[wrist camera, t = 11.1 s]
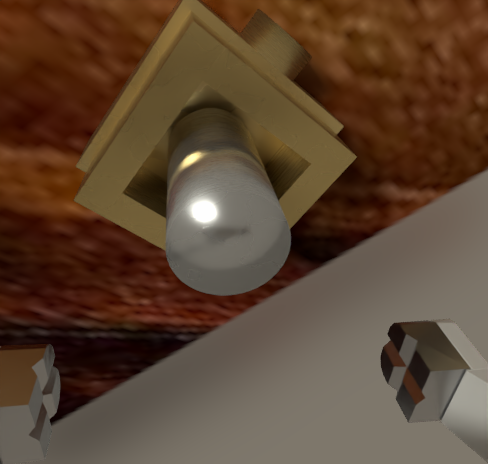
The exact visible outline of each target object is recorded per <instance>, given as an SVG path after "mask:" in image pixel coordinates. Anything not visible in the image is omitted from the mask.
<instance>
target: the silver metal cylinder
mask: <svg viewBox="0 0 488 464" xmlns="http://www.w3.org/2000/svg"><path fill="white" fill-rule="evenodd" d="M290 245H291V233H290V228H289V225H288V222H287V220H286V218H285V215H284V213H283V211H282V208H281V206H280V203H279V201H278V199H277V196H276V194H275V192H274V189H273V187H272V185H271V182H270V180H269V178H268V175H267V173H266V170H265V168H264V166H263V163H262V161H261V159H260V156H259V154H258V152H257V149H256V147H255V145H254V142H253V140H252V137H251V135H250V133H249V131H248V129H247V127H246V126H245V124H244V123H243V122H242V121H241V120H240V119H239V118H238V117H237V116H235V115H234V114H232V113H230V112H228V111H225V110H222V109H217V108H205V109H200V110H197V111H194V112H192V113H190V114H188V115H186V116H185V117H184V118H182V119H181V120H180V121H179V122H178V123H177V125H176V126H175V128H174V129H173V131H172V133H171V136H170V139H169V145H168V175H167V211H166V255H167V260H168V262H169V265H170V267H171V269H172V270H173V272H174V273H175V274H176V276H177V277H178V278H179V279H180V280H181V281H182V282H184V283H185V284H186V285H188V286H190V287H191V288H193V289H195V290H198V291H200V292H204V293H207V294H213V295H235V294H240V293H244V292H247V291H250V290H253V289H255V288H257V287H259V286H261V285H263V284H264V283H266V282H267V281H269V280H270V279H271V278H272V277H273V276H274V275H275V274H277V272H278V271H279V270H280V269H281V267H282V266H283V264H284V263H285V261H286V259H287V257H288V254H289V251H290Z"/></svg>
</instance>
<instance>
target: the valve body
mask: <svg viewBox="0 0 488 464" xmlns="http://www.w3.org/2000/svg"><path fill="white" fill-rule="evenodd" d="M311 58H312V56H311V55H310V54H309V53H308V52H307V51H306V50H305V49H304V48H303V47H302V46H301V45H300V44H298V43H297V42H296V41H295V40H294V39H293V38H292V37H291V36H290V35H289V34H288V33H286V32H285V31H284V30H283V29H282V28H281V27H280V26H279V25H277V24H276V23H275V22H274V21H273V20H272V19H271V18H269V17H268V16H267V15H266V14H265V13H263V12H262V11H261V10H259V9H258V10H257V11H256V13H255V14H254V15H253V17H252V18H251V20H250V21H249V22H248V24H247V25H246V26H245V28H244V29H243V31H242V32H241V33H240V34H239V33H238V32H237V31H236V30H235V29H234V28H232V27H231V26H230V25H229V24H228V23H227V22H226V21H224V20H223V19H222V18H221V17H220V16H219V15H217V14H216V13H215V12H214V11H213V10H212V9H210V8H209V7H208V6H207V5H206V4H205V3H203V2H202V1H201V0H179V1H178V2H177V4H176V5H175V7H174V8H173V10H172V12H171V13H170V15H169V16H168V18H167V19H166V21H165V22H164V24H163V26H162V27H161V29H160V30H159V32H158V33H157V35H156V36H155V38H154V40H153V41H152V43H151V44H150V46H149V47H148V49H147V51H146V52H145V54H144V55H143V57H142V58H141V60H140V61H139V63H138V65H137V66H136V68H135V69H134V71H133V72H132V74H131V75H130V77H129V79H128V80H127V82H126V83H125V85H124V86H123V88H122V90H121V91H120V93H119V94H118V96H117V97H116V99H115V100H114V102H113V104H112V105H111V107H110V108H109V110H108V111H107V113H106V114H105V116H104V118H103V119H102V121H101V122H100V124H99V125H98V127H97V129H96V130H95V132H94V133H93V135H92V136H91V138H90V139H89V141H88V143H87V145H86V147H85V149H84V151H83V153H82V155H81V157H80V159H79V161H78V163H77V165H76V167H77V168H79V169H81V170H83V171H84V172H86V174H85V176H84V178H83V180H82V183H81V185H80V187H79V189H78V192H77V194H76V196H75V198H74V201H75V202H77V203H79V204H81V205H83V206H85V207H86V208H88V209H90V210H92V211H94V212H96V213H97V214H99V215H101V216H103V217H105V218H107V219H109V220H110V221H112V222H114V223H116V224H118V225H120V226H121V227H123V228H125V229H127V230H129V231H131V232H132V233H134V234H136V235H138V236H140V237H142V238H143V239H145V240H147V241H149V242H151V243H153V244H154V245H156V246H158V247H160V248H162V249H164V250H165V251H166V211H167V175H168V145H169V139H170V136H171V133H172V131H173V129H174V128H175V126H176V125H177V123H178V122H179V121H180V120H181V119H182V118H184V117H185V116H186V115H188V114H190V113H192V112H194V111H197V110H200V109H205V108H217V109H222V110H225V111H228V112H230V113H232V114H234V115H235V116H237V117H238V118H239V119H240V120H241V121H242V122H243V123H244V124H245V126H246V127H247V129H248V131H249V133H250V135H251V137H252V140H253V142H254V145H255V147H256V149H257V152H258V154H259V156H260V159H261V161H262V163H263V166H264V168H265V170H266V173H267V175H268V178H269V180H270V182H271V185H272V187H273V189H274V192H275V194H276V196H277V199H278V201H279V203H280V206H281V208H282V211H283V213H284V215H285V218H286V220H287V222H288V225H289V228H291V227H292V226H293V225H294V224H295V223H296V222H297V221H298V220H299V219H300V218H301V217H302V216H303V214H304V213H305V212H306V211H307V210H308V209H309V208H310V207H311V206H312V205H313V204H314V203H315V202H316V200H317V199H318V198H319V197H320V196H321V195H322V194H323V193H324V192H325V191H326V190H327V189H328V188H329V187H330V185H331V184H332V183H333V182H334V181H335V180H336V179H337V178H338V177H339V176H340V175H341V174H342V173H343V172H344V170H345V169H346V168H347V167H348V166H349V165H350V164H351V163H352V162H353V161H354V160H355V159H356V158H357V156H356V155H355V154H354V153H353V152H352V151H351V150H350V149H349V147H348V146H347V145H346V144H345V143H344V142H343V141H342V140H341V139H340V138H339V137H338V135H337V134H338V132H339V131H340V130H341V129H342V128H343V127H344V126H343V125H342V124H341V123H340V122H339V121H338V120H337V119H336V118H335V117H334V116H333V115H332V114H331V113H330V112H329V111H328V110H327V109H326V108H325V107H324V106H323V105H322V104H321V103H319V102H318V101H317V100H316V99H315V98H314V97H312V96H311V95H310V94H309V93H308V92H307V91H305V90H304V89H303V88H302V87H301V86H300V85H299V84H297V83H296V82H295V81H294V79H295V78H296V77H297V75H298V74H299V73H300V72H301V71H302V69H303V68H304V67H305V66H306V64H307V63H308V62H309V61H310V59H311Z"/></svg>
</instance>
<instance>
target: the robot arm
mask: <svg viewBox="0 0 488 464" xmlns="http://www.w3.org/2000/svg"><path fill="white" fill-rule="evenodd" d="M388 336H389V337H390V339H391V341H389V342H388V343H387V344H386V345H385V346H384V347H383V350H382V353H381V368H382V372H383V375H384V377H385V379H386V381H387V383H388V384H389V385H390V386H391V387H393V388H394V389H396V390H397V391H398V392H397V396H396V400H397V402H398V404H399V406H400V407H401V409H402V411H403V413H404V415H405V417H406V419H407V420H408V422H424V421H437V420H441V423H442V424H443V425H445V426H446V427H447V428H448V429H449V430H451V431H452V432H453V433H454V434H455V435H456V436H457V437H458V438H460V439H461V440H462V441H463V442H464V443H466V444H467V445H468V446H469V447H470V448H471V449H473V450H474V451H475V452H476V453H477V454H478V455H479V456H481V457H482V458H483V459H484V460H485V461H486V462H487V463H488V363H487V361H486V360H485V359H484V358H483V356H482V355H481V354H480V353H479V351H478V350H477V349H476V348H475V347H474V345H473V344H472V343H471V341H470V340H469V339H468V338H467V337H466V336H465V334H464V333H463V332H462V330H461V329H460V328H459V327H458V325H457V324H456V323H455V322H453V321H452V320H450V319H443V320H431V321H415V322H401V323H394V324H393V325H392V326H391V327H390V329H389V332H388ZM54 357H55V355H54V351H53V347H52V345H50V344H42V345H15V346H1V347H0V464H18V463H26V462H34V461H41V460H45V457H46V453H47V449H48V445H49V441H50V436H51V433H52V429H51V425H50V421H49V419H50V418H51V417H52V416H53V415H54V414H55V413H56V412H57V407H58V403H59V395H60V377H59V373H58V369H56V368H55V367H53V366H52V364H53V361H54Z"/></svg>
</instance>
